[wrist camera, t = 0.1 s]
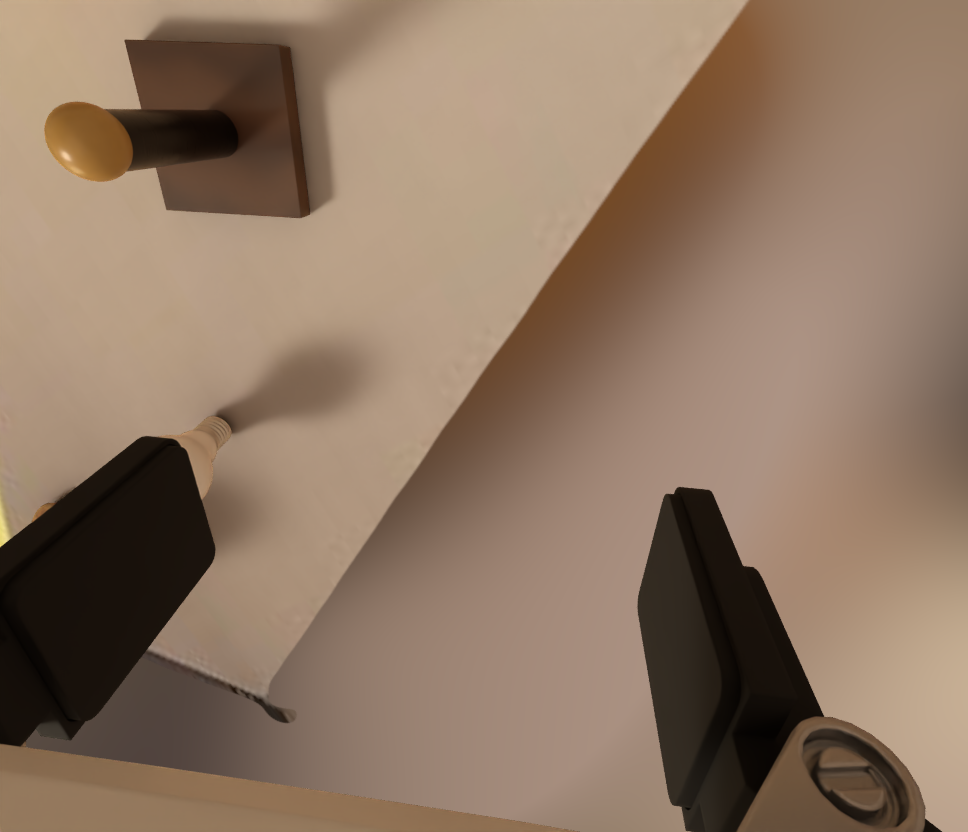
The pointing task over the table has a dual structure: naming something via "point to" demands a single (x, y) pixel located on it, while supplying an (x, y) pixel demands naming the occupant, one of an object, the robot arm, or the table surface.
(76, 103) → the hook peg
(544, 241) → the table surface
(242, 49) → the hook base
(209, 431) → the lightbulb
